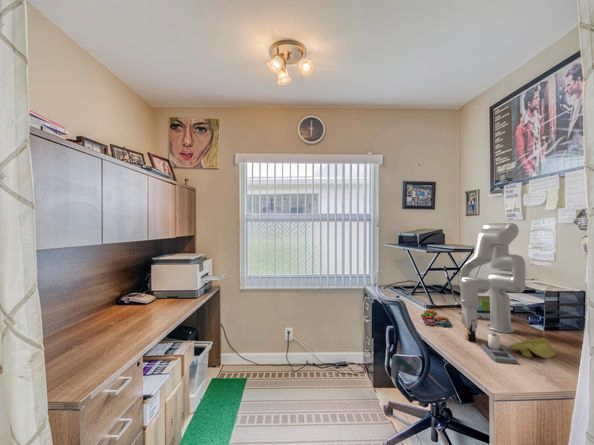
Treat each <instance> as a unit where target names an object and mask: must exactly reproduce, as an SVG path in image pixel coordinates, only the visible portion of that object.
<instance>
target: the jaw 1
mask: <svg viewBox="0 0 594 445" xmlns="http://www.w3.org/2000/svg"><path fill="white" fill-rule="evenodd" d="M470 327H472V326H470ZM471 330H472V329H470V331H471ZM468 333H469V329H468V328H467V327H465V326H464V337H465V338H464V339H465V340H466V341H468Z"/></svg>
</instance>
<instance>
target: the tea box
mask: <svg viewBox="0 0 594 445" xmlns="http://www.w3.org/2000/svg"><path fill="white" fill-rule="evenodd" d="M476 310H477V319H485V320H486V319H487V320H488V319H489V320H490V297H489V292H485V293H478V308H476Z"/></svg>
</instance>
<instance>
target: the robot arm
mask: <svg viewBox="0 0 594 445" xmlns="http://www.w3.org/2000/svg"><path fill="white" fill-rule="evenodd" d="M519 231H520V229H519V227H518V225H517V224H516V223H513V222H495V223H494V222H491V223H489V222H488V223H485V224H483V225H482V226H481V231H480V232H479V233H478V234H477V236H476V240H475V245H474V249H473V254H472V257H471V258H470V259H469V260H467V261H466V262H465V264H463V266H462V267H461V269H460V273H459V276H458V286H459V288H460V306H461V316H460V317H461V319H460V320H461V324H462V325H463V326H464V328H465V327H467V328H468V329H469V333H468V340H467V341H468V342H472V343H473V342H474V343H477V340H476V338H477V336H476V334H477V333H476V332H477V328H478V318H477V310H476V308H478V293H489V297H490V319H489V322H490V323H489V324H486V328H487V329H489V330H490V331H493V332H498V333H502V334H503V333H504V334H505V333H506V334H512V333H514V332H515V328H513V327H512V325H511V324H512V323H511V299H510V296H509V294H508V293H507V292H510V293H516V294H517V293H518V294H520V293H523V292H524V291H525V289H526V262H525V259H524V257H523V256H521V255H519V254H510V253H509V248H510V247H509V246H510V244H511V243H512V242H513V241H514V240H515V239H516V238H517V237H518V235H519ZM486 264H490V266H491V269H493V270H495V271H500V272H491V273H490V274H488V275H487V277H486V278H483V277H476V276H470V274H471V273H472V271H473V270H474V269H475V268H477V267H480V266H483V265H486ZM502 272H511V274H510V273H502ZM470 326H472V327H470ZM470 329H472V330H471V331H470Z"/></svg>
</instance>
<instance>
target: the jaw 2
mask: <svg viewBox="0 0 594 445" xmlns="http://www.w3.org/2000/svg"><path fill="white" fill-rule="evenodd" d="M487 337H488V338H487V341H488V342H487V344H488V347H489V350H499V351H500V345H501V337H500V335H498V334H497V333H496V332H495V333H494V332H491V333H489V334H488V335H487Z"/></svg>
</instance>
